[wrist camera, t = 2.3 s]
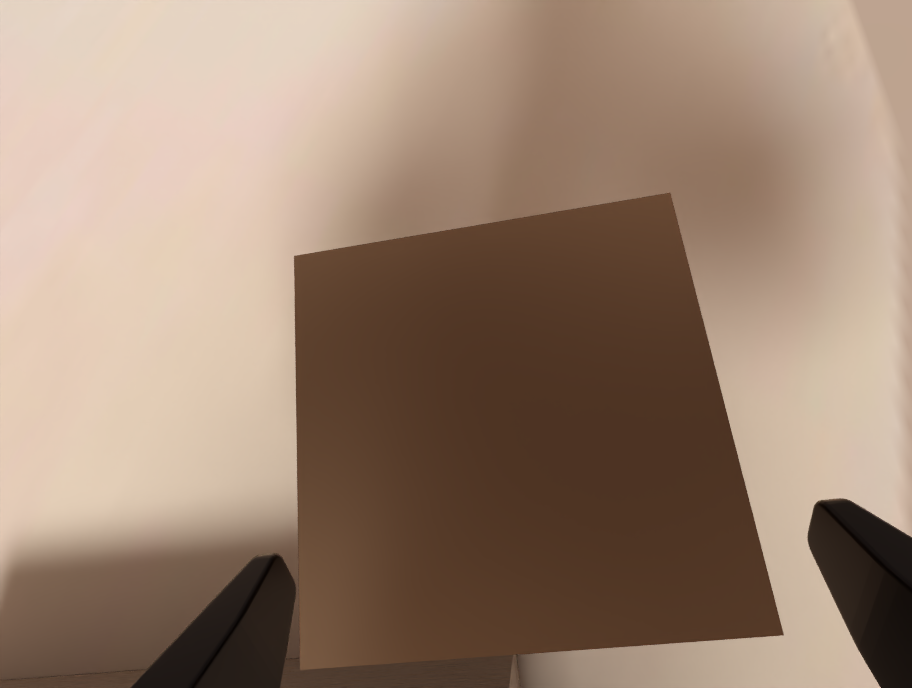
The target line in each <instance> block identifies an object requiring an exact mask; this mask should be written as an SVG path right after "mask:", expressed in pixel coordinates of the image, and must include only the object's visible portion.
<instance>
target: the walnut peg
mask: <svg viewBox="0 0 912 688" xmlns="http://www.w3.org/2000/svg"><path fill="white" fill-rule="evenodd" d="M294 276H295V347H296V419H297V490H298V561H299V633H300V670H308V669H322V668H336V667H350V666H364V665H378V664H392V663H405V662H419V661H433V660H447V659H461V658H475V657H489V656H502V655H516V654H530V653H544V652H558V651H572V650H586V649H599V648H613V647H627V646H641V645H655V644H669V643H683V642H697V641H710V640H724V639H738V638H752V637H766V636H780V635H784V634H783V630H782V626H781V622H780V619H779V615H778V611H777V607H776V603H775V599H774V595H773V591H772V587H771V584H770V580H769V576H768V572H767V568H766V564H765V560H764V556H763V552H762V549H761V545H760V541H759V537H758V533H757V529H756V525H755V521H754V517H753V513H752V510H751V506H750V502H749V498H748V494H747V490H746V486H745V482H744V478H743V475H742V471H741V467H740V463H739V459H738V455H737V451H736V447H735V443H734V440H733V436H732V432H731V428H730V424H729V420H728V416H727V412H726V408H725V404H724V401H723V397H722V393H721V389H720V385H719V381H718V377H717V373H716V369H715V366H714V362H713V358H712V354H711V350H710V346H709V342H708V338H707V334H706V331H705V327H704V323H703V319H702V315H701V311H700V307H699V303H698V299H697V295H696V292H695V288H694V284H693V280H692V276H691V272H690V268H689V264H688V260H687V257H686V253H685V249H684V245H683V241H682V237H681V233H680V229H679V225H678V222H677V218H676V214H675V210H674V206H673V202H672V198H671V194H670V193H666V194H660V195H654V196H648V197H643V198H637V199H631V200H625V201H619V202H613V203H607V204H601V205H595V206H589V207H583V208H577V209H571V210H565V211H559V212H553V213H547V214H541V215H535V216H530V217H524V218H518V219H512V220H506V221H500V222H494V223H488V224H482V225H476V226H470V227H464V228H458V229H452V230H446V231H440V232H434V233H428V234H422V235H417V236H411V237H405V238H399V239H393V240H387V241H381V242H375V243H369V244H363V245H357V246H351V247H345V248H339V249H333V250H327V251H321V252H315V253H309V254H303V255H298V256H294Z"/></svg>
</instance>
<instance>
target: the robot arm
mask: <svg viewBox="0 0 912 688" xmlns="http://www.w3.org/2000/svg"><path fill="white" fill-rule="evenodd" d="M808 544H809V547H810V550H811V552H812V555H813V557H814V559H815V561H816V563H817V565H818V567H819V569H820V571H821V573H822V576H823V578H824V580H825V582H826V584H827V586H828V588H829V590H830V592H831V594H832V597H833V599H834V601H835V603H836V605H837V607H838V609H839V611H840V613H841V615H842V618H843V620H844V622H845V624H846V626H847V628H848V630H849V632H850V634H851V636H852V638H853V640H854V642H855V644H856V646H857V648H858V650H859V651H860V653H861V655H862V657H863V658H864V660H865V662H866V664H867V665H868V667H869V669H870V670H871V672H872V674H873V675H874V677H875V679H876V680H877V682H878V684H879V685H880V687H881V688H912V537H910V536H909V535H907V534H905V533H904V532H902V531H900V530H899V529H897V528H895V527H894V526H892V525H890V524H889V523H887V522H885V521H884V520H882V519H880V518H879V517H877V516H875V515H874V514H872V513H870V512H869V511H867V510H865V509H864V508H862V507H860V506H859V505H857V504H855V503H854V502H852V501H850V500H847V499H841V498H839V499H829V500H820V501H818V502H817V503H816V504H815V505H814V508H813V513H812V517H811V522H810V526H809V531H808ZM295 595H296V586H295V582H294V579H293V577H292V576H291V574H290V572H289V570H288V568H287V566H286V564H285V562H284V560H283V558H282V557H281V556H280V555H279V554H277V553H273V554H262V555H258V556H256V557H254V558H253V559H252V560H251V561H250V562H249V563H248V564H247V565H246V566H245V567H244V568H243V569H242V570H241V571H240V572H239V573H238V574H237V575H236V576H235V577H234V579H233V580H232V581H231V582H230V583H229V584H228V585H227V586H226V587H225V588H224V589H223V590H222V591H221V592H220V593H219V594H218V595H217V596H216V597H215V598H214V600H213V601H212V602H211V603H210V604H209V605H208V606H207V607H206V608H205V609H204V610H203V611H202V612H201V613H200V614H199V615H198V616H197V617H196V618H195V620H194V621H193V622H192V623H191V624H190V625H189V626H188V627H187V628H186V629H185V630H184V631H183V632H182V633H181V634H180V635H179V636H178V637H177V638H176V639H175V641H174V642H173V643H172V644H171V645H170V646H169V647H168V648H167V649H166V650H165V651H164V652H163V653H162V654H161V655H160V656H159V657H158V658H157V659H156V660H155V662H154V663H153V664H152V665H151V666H150V667H149V668H148V669H147V670H146V671H145V672H144V673H143V674H142V675H141V676H140V677H139V678H138V679H137V680H136V681H135V683H134V684H133V685H132V686H131V687H130V688H280V685H281V680H282V675H283V669H284V663H285V657H286V651H287V645H288V639H289V633H290V626H291V620H292V614H293V608H294V602H295Z"/></svg>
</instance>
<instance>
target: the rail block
mask: <svg viewBox="0 0 912 688" xmlns="http://www.w3.org/2000/svg"><path fill="white" fill-rule="evenodd" d="M145 671H146V670H135V671H122V672H108V673H95V674H82V675H68V676H55V677H42V678H28V679H15V680H1V681H0V688H130V687H131V686H132V685H133V684H134V683H135V681H136V680H137V679H138V678H139V677H140V676H141V675H142V674H143V673H144V672H145ZM280 688H520V680H519V672H518V664H517V656H516V655H502V656H489V657H475V658H461V659H447V660H433V661H419V662H405V663H392V664H378V665H364V666H350V667H336V668H322V669H308V670H300V658H295V659H285V663H284V669H283V675H282V680H281V685H280Z"/></svg>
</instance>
